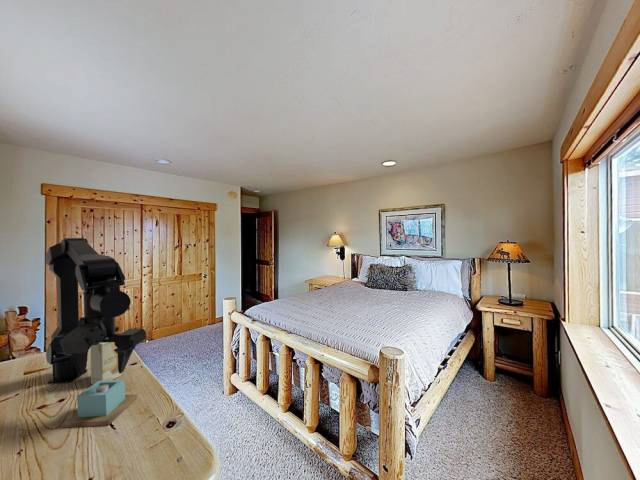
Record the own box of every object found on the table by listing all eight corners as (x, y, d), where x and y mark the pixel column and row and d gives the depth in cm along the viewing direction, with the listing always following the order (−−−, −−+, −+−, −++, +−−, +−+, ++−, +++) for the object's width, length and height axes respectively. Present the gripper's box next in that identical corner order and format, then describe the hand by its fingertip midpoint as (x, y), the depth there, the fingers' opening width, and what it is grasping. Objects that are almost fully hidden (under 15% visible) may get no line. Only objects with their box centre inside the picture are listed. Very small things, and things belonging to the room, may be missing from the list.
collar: (77, 417, 62) (77, 395, 62) (99, 399, 68) (98, 380, 68) (106, 415, 62) (105, 394, 62) (125, 398, 68) (124, 379, 68)
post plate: (63, 427, 60) (62, 401, 60) (98, 399, 70) (97, 377, 70) (108, 425, 60) (107, 399, 60) (137, 397, 70) (136, 375, 70)
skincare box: (102, 386, 76) (101, 344, 76) (90, 384, 77) (88, 343, 77) (123, 374, 82) (122, 335, 82) (111, 373, 83) (110, 334, 83)
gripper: (23, 322, 56) (27, 395, 56) (115, 319, 57) (117, 391, 57) (71, 307, 67) (73, 368, 67) (146, 305, 68) (148, 365, 68)
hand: (101, 373), depth 65 cm, fingers open, 9 cm apart
